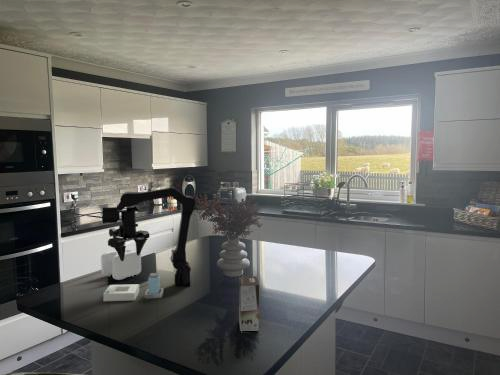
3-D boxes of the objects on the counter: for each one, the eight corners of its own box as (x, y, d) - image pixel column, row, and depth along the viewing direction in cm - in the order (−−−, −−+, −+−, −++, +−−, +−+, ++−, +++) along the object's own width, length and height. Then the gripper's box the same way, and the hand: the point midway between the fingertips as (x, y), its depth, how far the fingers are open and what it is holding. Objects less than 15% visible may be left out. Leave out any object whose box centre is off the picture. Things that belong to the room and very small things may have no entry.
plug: (160, 293, 161) (159, 272, 160) (158, 296, 157) (158, 275, 156) (150, 293, 161) (149, 272, 160) (148, 297, 157) (148, 276, 156)
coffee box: (259, 332, 128) (259, 285, 126) (240, 332, 127) (240, 285, 125) (256, 319, 137) (257, 275, 135) (238, 320, 136) (238, 276, 135)
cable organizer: (112, 282, 174) (111, 257, 172) (101, 277, 181) (100, 252, 179) (141, 274, 185) (141, 250, 184) (129, 269, 192) (129, 247, 191)
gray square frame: (163, 291, 163) (163, 288, 162) (161, 297, 156) (161, 294, 156) (147, 292, 162) (147, 288, 162) (144, 298, 155) (144, 294, 155)
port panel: (139, 291, 163) (139, 283, 163) (134, 300, 153) (134, 292, 153) (110, 291, 162) (109, 284, 162) (103, 301, 152) (103, 292, 152)
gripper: (130, 217, 175) (132, 250, 176) (97, 224, 158) (99, 261, 160) (149, 218, 169) (151, 253, 171) (117, 226, 153) (119, 265, 155)
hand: (130, 258), depth 164 cm, fingers open, 9 cm apart
